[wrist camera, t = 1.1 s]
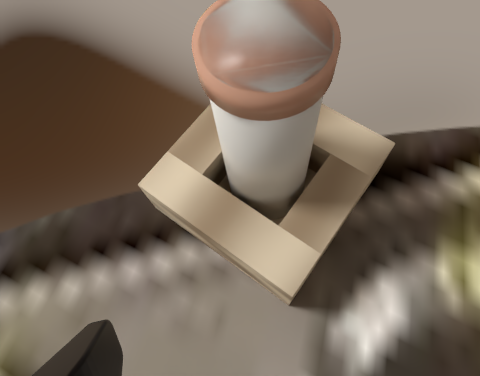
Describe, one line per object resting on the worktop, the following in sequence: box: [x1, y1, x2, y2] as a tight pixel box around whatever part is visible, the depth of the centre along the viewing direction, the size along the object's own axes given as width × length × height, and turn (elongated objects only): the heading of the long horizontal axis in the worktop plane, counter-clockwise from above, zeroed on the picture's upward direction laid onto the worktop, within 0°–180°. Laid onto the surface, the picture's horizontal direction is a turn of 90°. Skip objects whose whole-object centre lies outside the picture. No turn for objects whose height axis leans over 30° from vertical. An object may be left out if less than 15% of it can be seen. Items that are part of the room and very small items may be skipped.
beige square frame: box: [138, 104, 395, 305], centre depth 22 cm, size 10×10×4 cm
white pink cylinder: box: [192, 0, 341, 220], centre depth 18 cm, size 5×5×12 cm
